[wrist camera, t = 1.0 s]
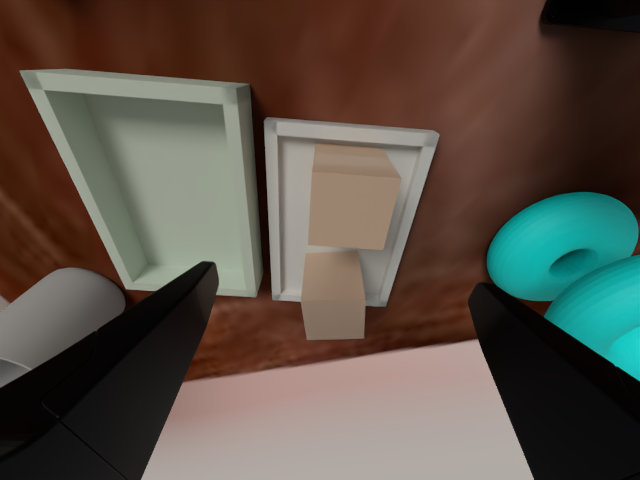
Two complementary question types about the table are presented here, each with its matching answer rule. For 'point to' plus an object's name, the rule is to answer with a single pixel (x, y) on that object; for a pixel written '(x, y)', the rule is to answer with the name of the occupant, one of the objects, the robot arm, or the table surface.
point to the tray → (295, 192)
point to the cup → (54, 318)
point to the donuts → (577, 270)
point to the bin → (160, 171)
